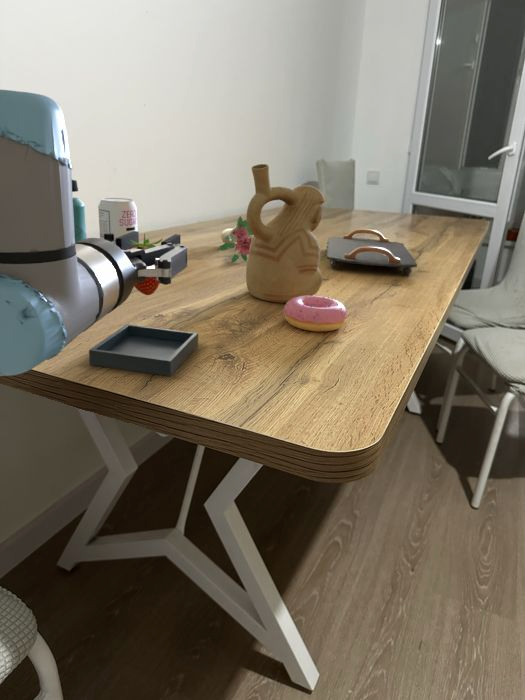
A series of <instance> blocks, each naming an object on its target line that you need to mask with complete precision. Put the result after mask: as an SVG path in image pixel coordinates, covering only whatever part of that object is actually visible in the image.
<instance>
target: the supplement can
mask: <svg viewBox="0 0 525 700" xmlns="http://www.w3.org/2000/svg"><path fill="white" fill-rule="evenodd" d="M97 207H98V208H97V209H98V227H99V238H101V239H104V234H106V233H111V234H114V240H116V239H115V238H118V237H120V236H123V235H125V234H127V233H130V232H132V231H138V207H137V205H136V203H135V200H134V199H131V198H126V197H125V198H123V197H103V198H100V202H99V204H98V206H97Z"/></svg>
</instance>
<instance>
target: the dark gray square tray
mask: <svg viewBox="0 0 525 700" xmlns="http://www.w3.org/2000/svg"><path fill="white" fill-rule="evenodd" d="M198 347H199V333H198V332H192V331H184V330H176V329H168V328H162V327H161V328H160V327H153V326H145V325H138V324H137V325H136V324H131V323H126V324H125V325H123V326H122V327H120V328H119V329H117V330H115V331H114V332H113V333H112V334H110V335H109V336H107V337H105V338H104V339H103V340H102V341H100V342H99V343H97V344H95V345H94V346H93V347H91V348H90V349H89V350H88V356H89V357H88V358H89V365H90V366H96V367H103V368H110V369H116V370H117V369H118V370H123V371H130V372H131V371H132V372H137V373H138V372H139V373H144V374H152V375H159V376H164V377H165V376H166V377H171V376H172V375H173V374H174V373H175V372H176V371H177V370H178V369H179V368H180V367H181V365H182V364H183V363H184V362H185V361H186V360H187V359H188V358H189V357H190V356H191V355H192V354H193V352H194V351H195V350H196V349H197V348H198Z"/></svg>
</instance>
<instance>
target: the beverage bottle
mask: <svg viewBox="0 0 525 700" xmlns="http://www.w3.org/2000/svg"><path fill="white" fill-rule="evenodd" d="M75 192H79V187H78V181H77V180H75V179H72V193H75ZM72 198H73V216H74V234H75V242H77V241H80V240H83V239H87V236H88V235H87V231H86V230H87V229H86V228H87V227H86V214H85V213H86V211H85V207H86V205H85V203H84V202H83V201H82V200H81V199H80V198H78V197H73V196H72Z"/></svg>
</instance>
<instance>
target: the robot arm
mask: <svg viewBox="0 0 525 700" xmlns="http://www.w3.org/2000/svg"><path fill="white" fill-rule="evenodd" d="M65 121H66V120H65V116H64V113H63V110H62V108H61V106H60V105H59V104H58V103H57V102H56V101H55V100H54V99H53V98H51V97H49V96H47V95H44V94H40V93H34V92H28V91H17V90H11V89H0V377H5V376H7V377H9V376H11V377H12V376H17V375H21V374H24V373H27V372H29V371H31V370H33V369H34V368H35V367H38V366H39V365H41V364H42V363H44V362H45V361H50V360H51V359H53V358H56V356H58V355H59V354H60V353H61V352H62V350H63V349H64V348H66V347H67V346H68V345H69V344H70V343H71V342H73V341H74V340H75V339H76V338H77V337H78V336H80V335H81V334H83V333H85V332H86V331H87V330H88V329H90V328H91V327H92V326H94V324H96V323H97V322H99V321H100V320H102V319H103V318H104V317H105V316H106V315H108V314H110V313H111V312H114V311H115V309H117V308H119V307H120V306H121V305H123V304H124V303H125V302H126V301H127V299H128V298H129V297H130V295H131V294H132V291H133V290H134V288H135V287H134V286H135V284H138V283H142V282H144V281H145V280H146V278H147V277H155V280H156V281H160V284H161V285H164V286H167V285H170V284H172V279H173V278H174V277H175V276H177V275H178V274H179V273H181V272H182V271H183V270H185V269H186V268H187V267H188V246H187V245H184V244H182V243H181V234H176V233H175V234H172V235H170V236H169V237H168V238H166V239H163V240H162V241H161V242H160V245H161V246H160V245H156V246H157V247H153V248H150V249H146V250H142V249H135V248H133V249H130V248H131V247H133V246H135V245H133V244H134V243H132V242H131V241H130V240H132V241H134V242H137V243H140V235H139V232H140V231H138V230H137V231H132V232H130V233H127V234H125V235H123V236H120V237H118V238H115V239H116V240H114V234H111V233H106V234H104V239H101V238H100V237H86V239H83V240H80V241H77V242H75V234H74V216H73V198H72V197H73V192H72V180H73V179H72V178H73V176H72V170H73V164H72V161H71V156H70V146H69V139H68V138H69V137H68V130H67V128H66V122H65ZM127 241H128V242H127ZM130 243H132V244H130Z"/></svg>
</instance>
